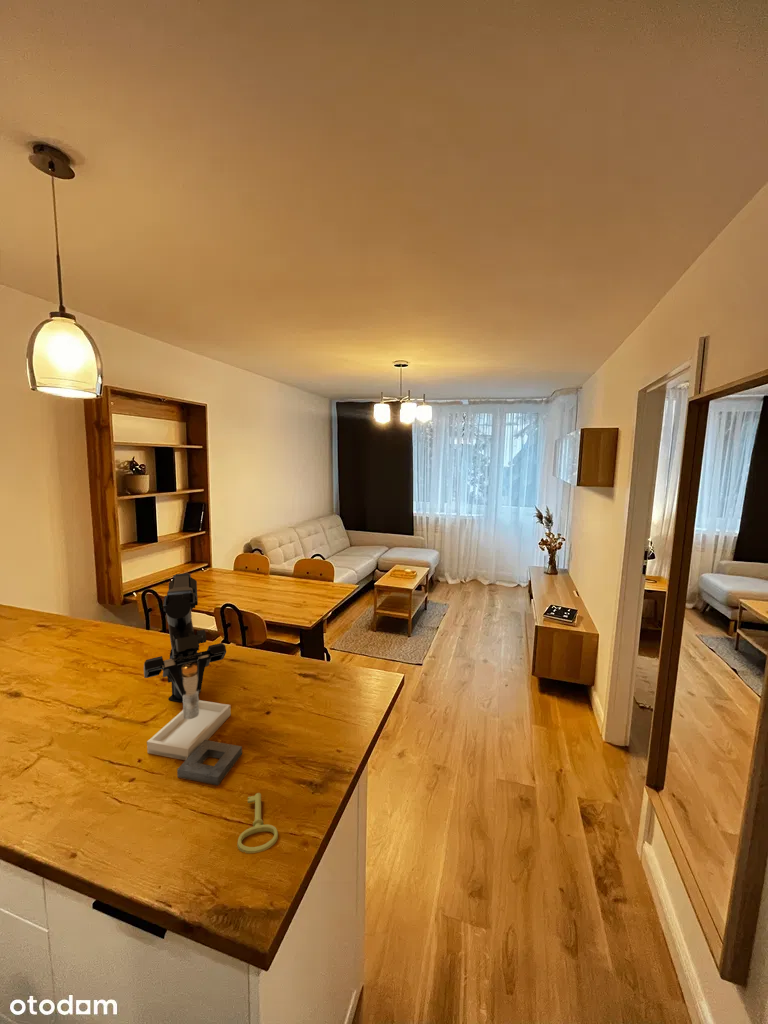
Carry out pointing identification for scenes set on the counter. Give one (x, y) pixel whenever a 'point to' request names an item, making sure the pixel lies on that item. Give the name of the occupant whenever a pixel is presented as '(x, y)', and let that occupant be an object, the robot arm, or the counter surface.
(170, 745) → the parts tray
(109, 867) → the counter surface
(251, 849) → the key
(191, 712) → the pin
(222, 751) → the grey flat square frame
